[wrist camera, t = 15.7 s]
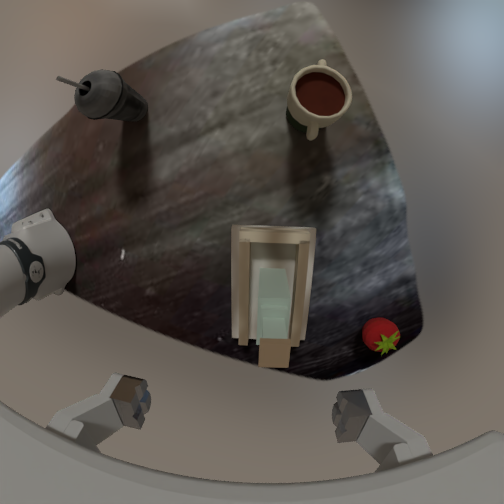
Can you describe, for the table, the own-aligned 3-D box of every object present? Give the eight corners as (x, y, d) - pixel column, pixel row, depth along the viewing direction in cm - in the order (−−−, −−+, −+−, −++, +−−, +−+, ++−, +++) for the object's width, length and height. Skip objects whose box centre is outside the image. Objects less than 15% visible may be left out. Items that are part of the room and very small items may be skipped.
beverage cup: (141, 135, 40) (65, 118, 21) (111, 120, 39) (33, 101, 20) (163, 98, 38) (99, 57, 19) (131, 84, 37) (62, 47, 18)
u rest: (232, 333, 49) (229, 349, 44) (232, 224, 44) (228, 231, 39) (303, 335, 48) (306, 351, 44) (314, 227, 43) (320, 234, 38)
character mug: (323, 151, 40) (347, 143, 27) (278, 143, 40) (284, 129, 27) (331, 89, 37) (355, 60, 24) (287, 80, 37) (296, 46, 24)
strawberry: (363, 301, 46) (383, 329, 37) (393, 312, 47) (415, 340, 37) (348, 328, 48) (363, 359, 38) (378, 337, 48) (396, 367, 39)
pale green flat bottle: (259, 267, 44) (256, 327, 26) (285, 268, 44) (296, 328, 26) (258, 307, 46) (254, 379, 28) (282, 308, 45) (289, 380, 28)
